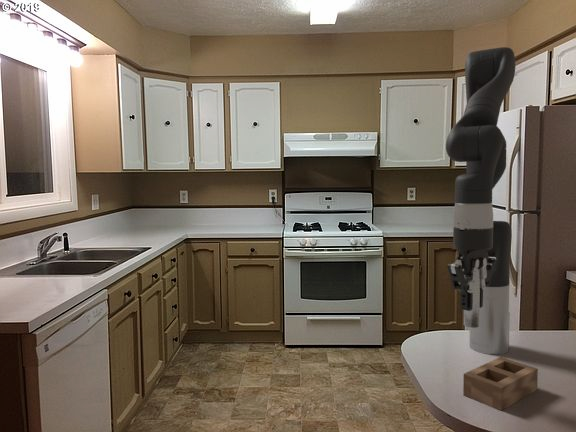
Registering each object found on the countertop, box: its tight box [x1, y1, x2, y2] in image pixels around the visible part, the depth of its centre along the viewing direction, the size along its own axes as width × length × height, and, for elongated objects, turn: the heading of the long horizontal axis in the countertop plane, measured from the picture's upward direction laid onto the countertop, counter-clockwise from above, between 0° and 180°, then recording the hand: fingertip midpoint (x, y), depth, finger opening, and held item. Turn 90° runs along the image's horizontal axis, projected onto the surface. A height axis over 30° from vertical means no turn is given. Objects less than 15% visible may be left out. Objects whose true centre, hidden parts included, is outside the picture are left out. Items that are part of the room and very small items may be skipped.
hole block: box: [462, 356, 539, 411], centre depth 94 cm, size 14×8×4 cm, turn 126°
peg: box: [463, 269, 480, 328], centre depth 94 cm, size 3×3×12 cm
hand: (471, 308), depth 94 cm, fingers closed on peg, 3 cm apart
